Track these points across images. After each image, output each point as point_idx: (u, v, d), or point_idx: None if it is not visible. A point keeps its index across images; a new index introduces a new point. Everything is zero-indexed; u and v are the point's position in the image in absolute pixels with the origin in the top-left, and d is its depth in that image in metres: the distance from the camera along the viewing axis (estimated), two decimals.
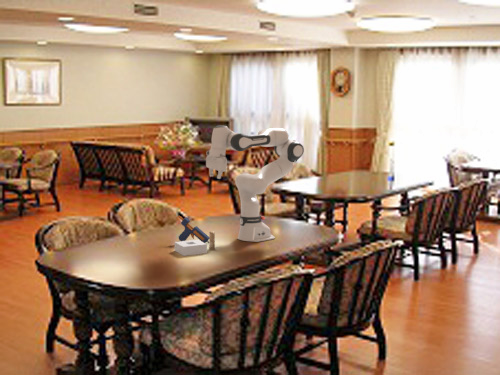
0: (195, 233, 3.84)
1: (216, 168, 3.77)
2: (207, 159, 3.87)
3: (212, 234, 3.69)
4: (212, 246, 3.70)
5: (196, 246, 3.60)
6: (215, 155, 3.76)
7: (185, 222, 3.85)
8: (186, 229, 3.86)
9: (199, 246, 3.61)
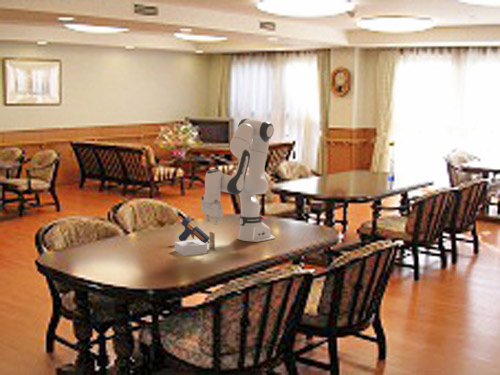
0: (195, 233, 3.84)
1: (212, 214, 3.64)
2: (202, 204, 3.74)
3: (212, 234, 3.69)
4: (212, 246, 3.70)
5: (196, 246, 3.60)
6: (210, 201, 3.63)
7: (185, 222, 3.85)
8: (186, 229, 3.86)
9: (199, 246, 3.61)
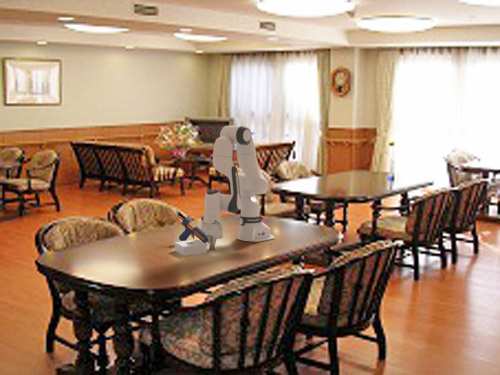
0: (195, 233, 3.84)
1: (212, 235, 3.66)
2: (202, 224, 3.76)
3: None
4: (212, 246, 3.70)
5: (196, 246, 3.60)
6: (210, 222, 3.65)
7: (185, 222, 3.85)
8: (186, 229, 3.86)
9: (199, 246, 3.61)
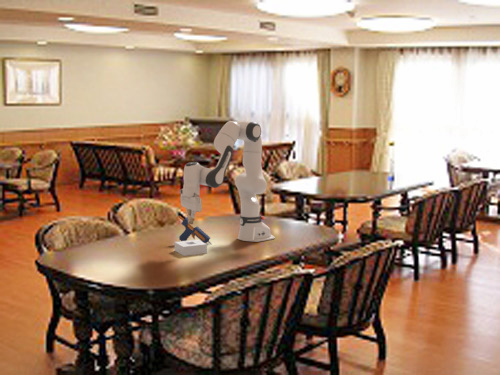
0: (196, 233, 3.84)
1: (191, 208, 3.57)
2: (181, 198, 3.67)
3: None
4: (191, 220, 3.61)
5: (196, 246, 3.60)
6: (188, 195, 3.56)
7: (186, 222, 3.85)
8: (187, 229, 3.85)
9: (199, 246, 3.61)
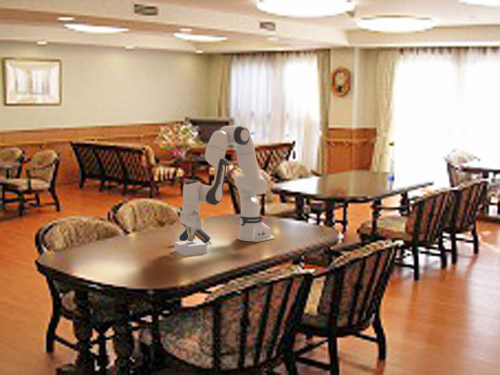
0: (196, 233, 3.84)
1: (190, 226, 3.59)
2: (181, 215, 3.69)
3: None
4: (191, 237, 3.63)
5: (196, 246, 3.60)
6: (188, 212, 3.58)
7: None
8: None
9: (199, 246, 3.61)
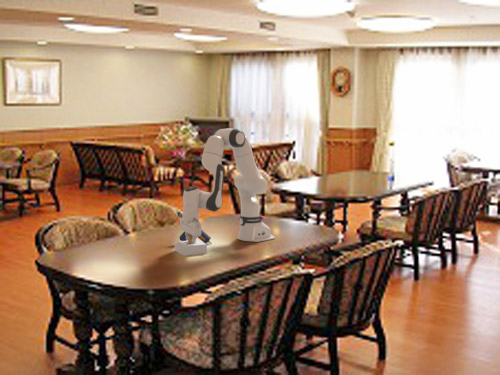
0: None
1: (190, 232, 3.60)
2: (181, 221, 3.69)
3: (190, 236, 3.63)
4: None
5: (196, 246, 3.60)
6: (188, 219, 3.59)
7: None
8: None
9: (199, 246, 3.61)
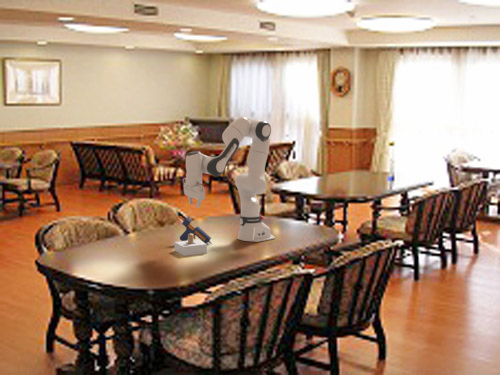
0: (196, 233, 3.84)
1: (194, 197, 3.62)
2: (184, 187, 3.72)
3: (190, 236, 3.63)
4: None
5: (196, 246, 3.60)
6: (191, 184, 3.61)
7: (186, 222, 3.85)
8: (187, 229, 3.85)
9: (199, 246, 3.61)
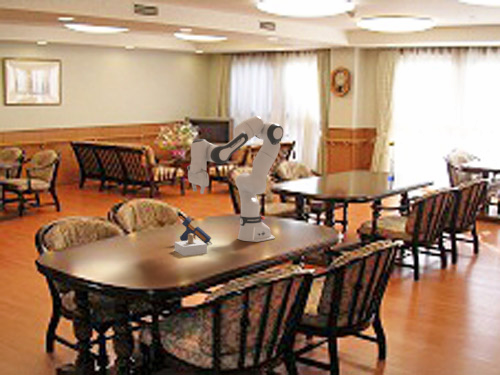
0: (197, 233, 3.84)
1: (198, 183, 3.69)
2: (189, 174, 3.78)
3: (190, 236, 3.63)
4: None
5: (196, 246, 3.60)
6: (196, 170, 3.68)
7: (186, 222, 3.85)
8: (187, 229, 3.85)
9: (199, 246, 3.61)
